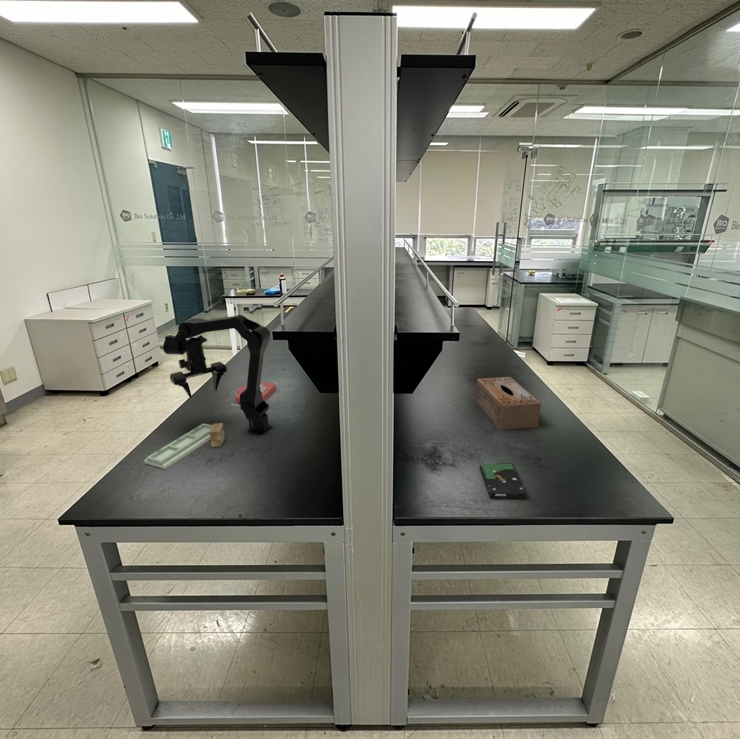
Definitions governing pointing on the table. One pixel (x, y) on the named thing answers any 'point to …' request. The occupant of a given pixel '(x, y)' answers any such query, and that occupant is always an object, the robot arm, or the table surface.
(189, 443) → the rail board
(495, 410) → the tissue box cover
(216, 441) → the tan rectangular box
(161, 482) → the table surface
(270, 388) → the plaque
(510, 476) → the disk drive
